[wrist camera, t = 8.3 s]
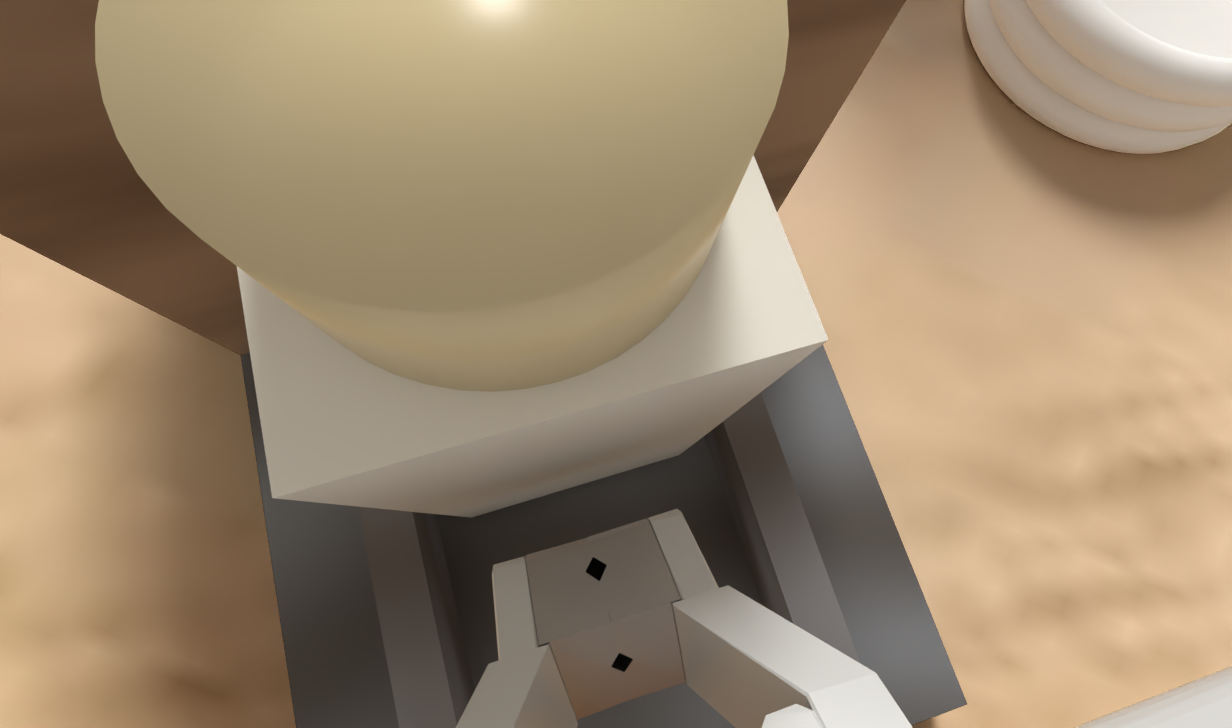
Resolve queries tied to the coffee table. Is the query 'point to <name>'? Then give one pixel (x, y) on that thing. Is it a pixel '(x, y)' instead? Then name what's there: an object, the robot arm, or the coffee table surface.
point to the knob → (474, 227)
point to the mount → (469, 547)
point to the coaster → (1112, 67)
